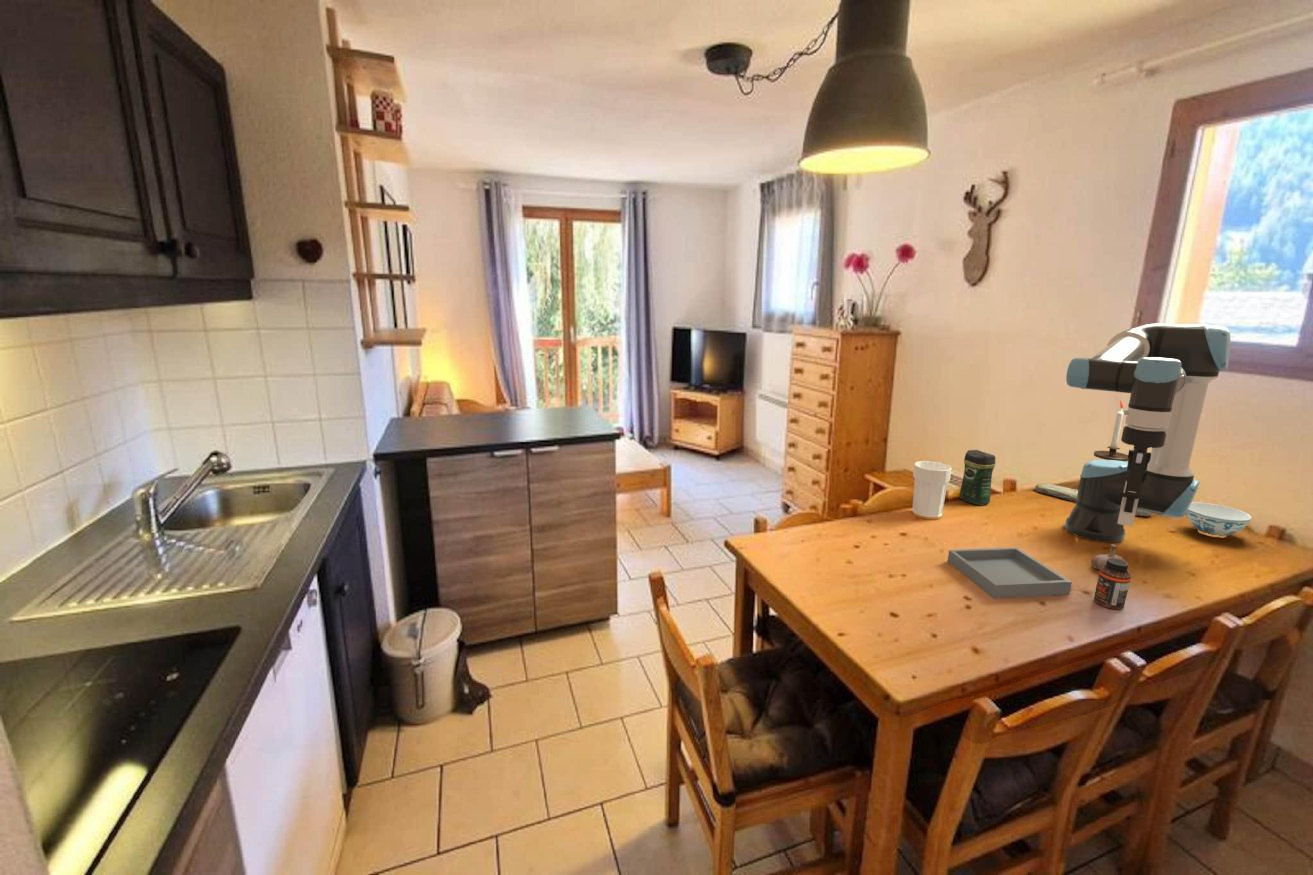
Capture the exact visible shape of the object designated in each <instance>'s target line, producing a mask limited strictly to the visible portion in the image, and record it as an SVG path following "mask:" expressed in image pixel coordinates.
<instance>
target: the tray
mask: <svg viewBox="0 0 1313 875" xmlns="http://www.w3.org/2000/svg"><path fill="white" fill-rule="evenodd" d="M947 563H948V564H950V565H951V566H953V568H955V569H957V571H959V572H960V573H961V574H962V575H964V576H965V577H967V578H968V579H969V580H970V581H972V582H973V583H974V584H975V585H976V586H977V587H979V588H980V589H981V590H983V591H984V592H985V593H987V594H988V595H989V596H990V597H992V598H993V599H1002V598H1003V599H1004V598H1005V599H1006V598H1019V597H1020V598H1021V597H1023V598H1024V597H1044V596H1047V597H1048V596H1049V597H1050V596H1066V595H1068V596H1069V595H1070V593H1071V588H1072V581H1071V580H1070V579H1068V578H1066V577H1065V576H1064V575H1062V574H1060V573H1059V572H1057V571H1055V570H1054V569H1052V568H1050V567H1049V566H1047V565H1046V564H1045V563H1043V562H1040V561H1039V560H1037V559H1036V558H1034V557H1033V556H1031V555H1029V554H1028V553H1027V552H1025V551H1023V550H1021V549H1020V548H1018V547H1015V546H1013V547H992V548H990V547H989V548H970V549H969V548H966V549H948V555H947Z"/></svg>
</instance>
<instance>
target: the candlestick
mask: <svg viewBox="0 0 1313 875" xmlns="http://www.w3.org/2000/svg"><path fill="white" fill-rule="evenodd" d="M1119 403H1120V406H1119V408H1120V409H1119V411H1117V413H1116V416H1115V423H1114V428H1113V432H1112V438H1111V441H1110V442H1111V443H1110V446H1108V445H1107V446H1106V448H1108V449H1109V450H1094V452H1093V456H1094V457H1096V458H1099V459H1100V460H1117V461H1124V462H1128V459H1127V458H1128V454H1126V453H1123V452H1118V451H1117V450H1120V449H1121V448H1120V447H1118V443H1119V438H1120V432H1121V428H1122V424H1123V419H1124V414H1123V412H1124V411H1123V408H1124V404H1123V402H1122V400H1120V401H1119Z"/></svg>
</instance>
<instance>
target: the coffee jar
mask: <svg viewBox="0 0 1313 875" xmlns="http://www.w3.org/2000/svg"><path fill="white" fill-rule="evenodd" d="M963 461H964V463H963V464H964V471H963V476H962V480H961V481H962V482H961V486H960V490H959V498H960V500H962V501H965V502H967V503H968V504H969V503H970V504H973V505H978V506H979V505H980V506H985V505H988V504H990V502H991V491H992V479H993V478H992V477H993V471H994V469H995V466H996V456H995V455H994V454H991V453H987V452H985V451H981V450H978V449H969V450H967V451H966V453H965V456H964V460H963Z"/></svg>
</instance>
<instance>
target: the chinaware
mask: <svg viewBox="0 0 1313 875" xmlns="http://www.w3.org/2000/svg"><path fill="white" fill-rule="evenodd" d="M1185 516H1186V519H1187V521H1188V522H1189V523H1190V524H1191V525H1192V526H1193V527H1194V529H1198V530H1199V531H1201V532H1203V533H1208V534H1211V535H1219V536H1225V535H1227V536H1229V535H1234V534H1237V533H1238V532H1240V531H1242V530H1243V529H1244V528H1246V527H1247V526H1248V525H1249V523H1250V522H1251V519H1252V516H1251V515H1250V514H1248V513H1247V512H1245V511H1242V510H1240V509H1237V508H1233V507H1230V506H1226V505H1221V504H1216V503H1215V504H1214V503H1208V502H1191V504H1190V506H1189V508H1188V510H1187V512H1186V514H1185Z"/></svg>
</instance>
